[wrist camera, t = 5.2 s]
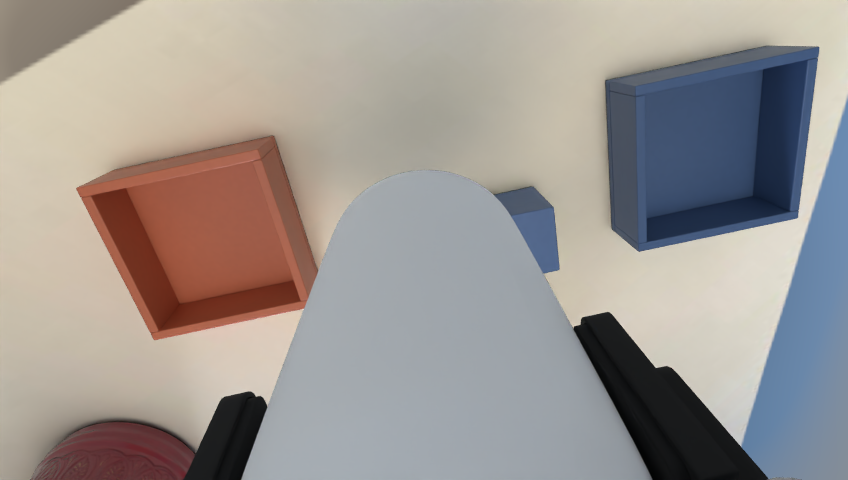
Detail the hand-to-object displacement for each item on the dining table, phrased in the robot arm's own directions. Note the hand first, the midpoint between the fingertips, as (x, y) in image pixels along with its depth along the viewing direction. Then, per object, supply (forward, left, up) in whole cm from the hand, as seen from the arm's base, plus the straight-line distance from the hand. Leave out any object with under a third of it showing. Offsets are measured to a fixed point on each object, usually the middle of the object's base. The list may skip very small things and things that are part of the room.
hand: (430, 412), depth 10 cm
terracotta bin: (+2, -13, -24) cm, 27 cm away
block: (+6, +6, -24) cm, 25 cm away
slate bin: (+3, +19, -24) cm, 31 cm away
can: (0, +1, -7) cm, 7 cm away
